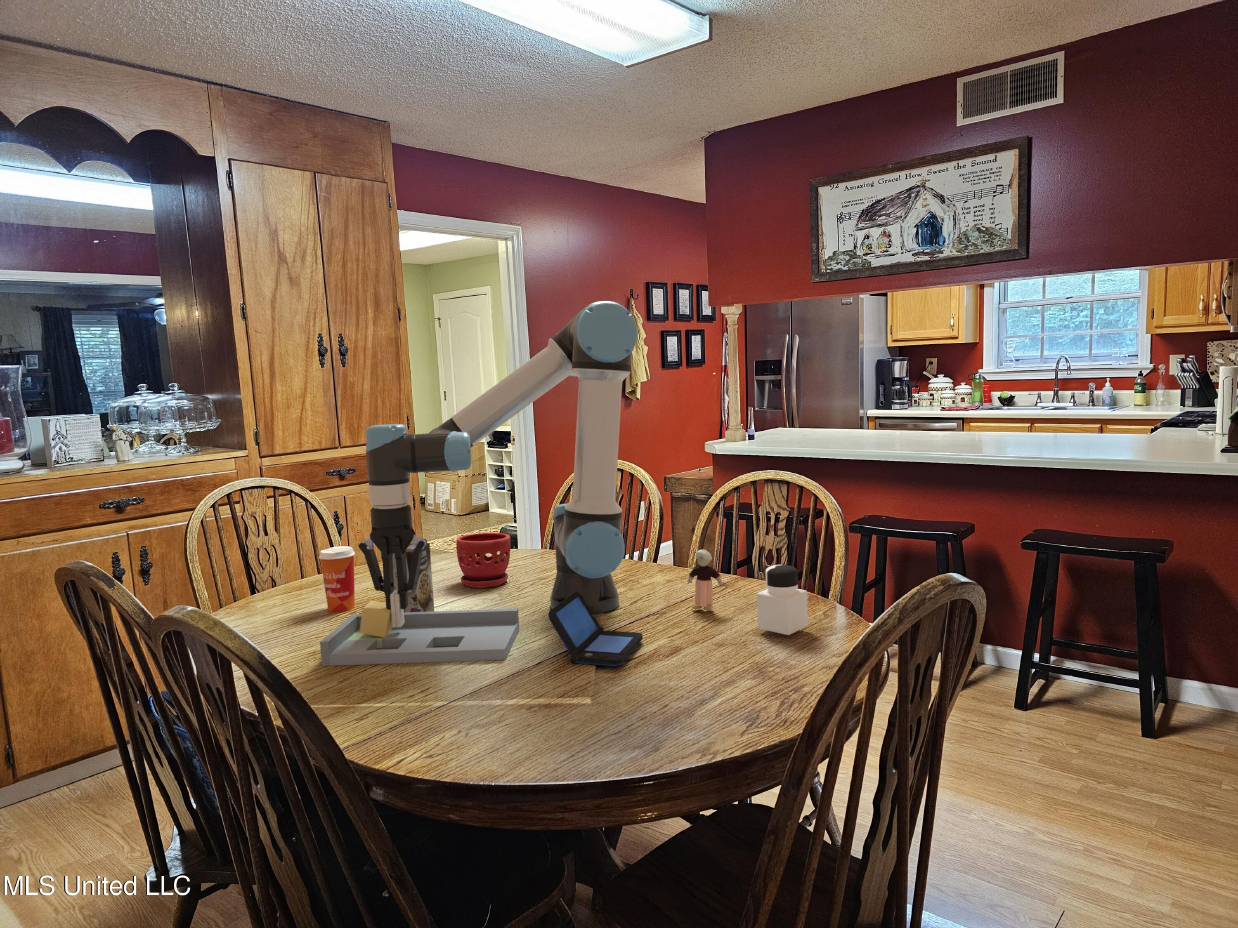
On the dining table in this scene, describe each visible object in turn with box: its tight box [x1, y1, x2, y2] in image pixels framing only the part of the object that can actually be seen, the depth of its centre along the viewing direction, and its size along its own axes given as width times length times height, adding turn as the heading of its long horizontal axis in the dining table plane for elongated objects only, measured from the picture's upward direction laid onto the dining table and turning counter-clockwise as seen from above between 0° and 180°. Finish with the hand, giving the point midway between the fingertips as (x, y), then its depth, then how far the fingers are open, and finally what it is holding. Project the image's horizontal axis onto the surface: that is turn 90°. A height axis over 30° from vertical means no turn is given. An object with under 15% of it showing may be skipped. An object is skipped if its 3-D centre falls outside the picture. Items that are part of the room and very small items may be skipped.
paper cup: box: [318, 545, 356, 613], centre depth 180 cm, size 8×8×14 cm
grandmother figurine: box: [686, 549, 724, 611], centre depth 169 cm, size 8×4×13 cm, turn 76°
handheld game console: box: [547, 592, 644, 667], centre depth 147 cm, size 16×13×9 cm
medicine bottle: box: [756, 564, 809, 636], centre depth 155 cm, size 7×7×12 cm
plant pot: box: [455, 532, 511, 589], centre depth 198 cm, size 13×13×12 cm
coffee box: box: [392, 542, 435, 612], centre depth 169 cm, size 9×6×16 cm
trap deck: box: [319, 608, 520, 667], centre depth 153 cm, size 34×16×4 cm, turn 88°
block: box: [359, 600, 393, 637], centre depth 156 cm, size 5×5×5 cm
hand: (398, 624), depth 156 cm, fingers closed
